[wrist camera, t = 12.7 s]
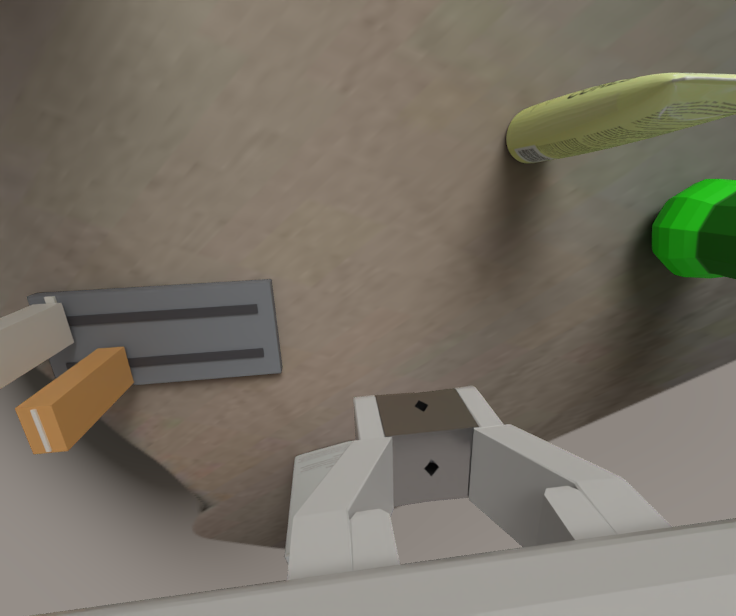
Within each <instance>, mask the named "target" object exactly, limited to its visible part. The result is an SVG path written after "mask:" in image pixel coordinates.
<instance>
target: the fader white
mask: <svg viewBox="0 0 736 616" xmlns="http://www.w3.org/2000/svg"><path fill="white" fill-rule="evenodd" d="M73 343H74V340H73V337H72V334H71V331H70V328H69V325H68V322H67V318H66V315H65V312H64V309H63V306H62V303H47V304H33V305H30V306H28V307H26V308H23V309H21V310H18V311H16V312H13V313H11V314H9V315H6V316H4V317H1V318H0V389H1V388H3V387H4V386H6V385H7V384H9V383H11V382H12V381H14V380H15V379H17V378H18V377H20V376H22V375H23V374H25V373H26V372H28V371H30V370H31V369H33V368H34V367H36V366H38V365H39V364H41V363H42V362H44V361H46V360H47V359H49V358H50V357H52V356H53V355H55V354H57V353H58V352H60V351H61V350H63V349H65V348H66V347H68V346H69V345H71V344H73Z"/></svg>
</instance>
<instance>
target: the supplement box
mask: <svg viewBox="0 0 736 616" xmlns="http://www.w3.org/2000/svg"><path fill="white" fill-rule="evenodd" d="M351 442H352V441H348V442H344V443H341V444H337V445H333V446H330V447H326V448H322V449H319V450H315V451H312V452H308V453H304V454H301V455H298V456H296V457H295V462H294V471H293V481H292V490H291V500H290V510H289V519H288V529H287V538H286V547H285V559H286V561H287V563H288V565H289V555H290V545H291V536H292V526H293V517H294V516H295V514H296V513H297V512H298V511H299V509H300V508H301V507H302V505H303V504H304V503H305V502H306V500H307V499H308V498H309V496H310V495H311V494H312V493H313V491H314V490H315V489H316V487H317V486H318V485H319V484H320V482H321V481H322V480H323V478H324V477H325V476H326V475H327V473H328V472H329V471H330V469H331V468H332V467H333V466H334V464H335V463H336V462H337V460H338V459H339V458H340V457H341V455H342V454H343V453H344V451H345V450H346V449H347V448H348V446H349V445H350V444H351Z"/></svg>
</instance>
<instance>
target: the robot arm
mask: <svg viewBox="0 0 736 616" xmlns="http://www.w3.org/2000/svg"><path fill="white" fill-rule="evenodd" d="M354 421H355V439H356V440H355V441H352V442H351V444H350V445H349V446H348V448H347V449H346V450H345V451H344V453H343V454H342V455H341V457H340V458H339V459H338V460H337V462H336V463H335V464H334V466H333V467H332V468H331V469H330V471H329V472H328V473H327V475H326V476H325V477H324V478H323V480H322V481H321V482H320V484H319V485H318V486H317V487H316V489H315V490H314V491H313V493H312V494H311V495H310V496H309V498H308V499H307V500H306V502H305V503H304V504H303V505H302V507H301V508H300V509H299V511H298V512H297V513H296V514H295V516H294V517H293V526H292V536H291V545H290V555H289V565H288V575H287V580H284V581H277V582H270V583H263V584H255V585H249V586H241V587H234V588H227V589H220V590H212V591H205V592H198V593H191V594H184V595H176V596H169V597H161V598H154V599H147V600H140V601H133V602H126V603H118V604H111V605H104V606H97V607H90V608H83V609H75V610H68V611H60V612H53V613H46V614H38V615H32V616H736V518H733V519H726V520H719V521H712V522H705V523H698V524H690V525H683V526H675V527H672V526H671V525H670V524H669V523H668V522H667V521H666V520H665V519H664V518H663V517H662V516H661V515H660V514H659V513H658V512H657V511H656V510H655V509H654V508H653V507H652V506H651V505H650V504H649V503H648V502H647V501H646V500H645V499H644V498H643V497H642V496H641V495H640V494H639V493H638V492H637V491H636V490H635V489H634V488H633V487H632V486H631V485H630V484H629V483H628V482H627V481H625V479H624V478H622V477H620V476H618V475H616V474H614V473H612V472H610V471H608V470H606V469H604V468H601V467H599V466H597V465H595V464H593V463H591V462H589V461H587V460H585V459H582V458H580V457H578V456H576V455H574V454H572V453H570V452H568V451H566V450H563V449H561V448H559V447H557V446H555V445H553V444H551V443H549V442H547V441H544V440H542V439H540V438H538V437H536V436H534V435H532V434H530V433H528V432H525V431H523V430H521V429H519V428H517V427H515V426H513V425H511V424H508V425H504V424H503V423H502V422H501V420H500V419H499V418H498V416H497V415H496V414H495V412H494V411H493V410H492V408H491V407H490V406H489V404H488V403H487V402H486V401H485V399H484V398H483V397H482V395H481V394H480V393H479V391H478V390H477V389H476V387H474V386H467V387H459V388H453V389H444V390H436V391H428V392H419V393H414V392H413V393H400V394H386V395H375V396H374V395H371V396H361V397H354ZM457 498H458V499H459V498H469V500H470V501H471V502H472V503H473V504H474V505H475V506H477V507H478V508H479V509H480V510H481V511H482V512H483V513H485V514H486V515H487V516H488V517H489V518H490V519H491V520H493V521H494V522H495V523H496V524H497V525H499V527H501V528H502V529H503V530H504V531H505V532H506V533H507V534H509V535H510V536H511V537H512V538H513V539H514V540H515V541H516V542H518V543H519V544H520V545H521V546H522V548H515V549H508V550H500V551H493V552H486V553H479V554H472V555H465V556H457V557H450V558H443V559H436V560H429V561H421V562H415V563H408V564H400V562H399V557H398V553H397V548H396V543H395V538H394V533H393V528H392V523H391V519H390V517H391V515H392V512H393V510H394V507H395V506H402V505H408V504H415V503H421V502H428V501H436V500H448V499H457Z"/></svg>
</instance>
